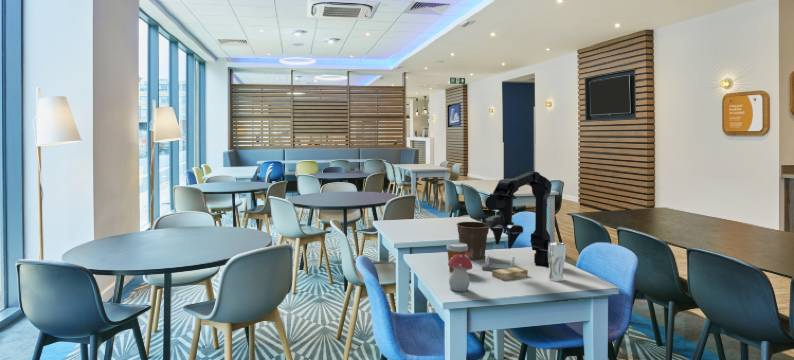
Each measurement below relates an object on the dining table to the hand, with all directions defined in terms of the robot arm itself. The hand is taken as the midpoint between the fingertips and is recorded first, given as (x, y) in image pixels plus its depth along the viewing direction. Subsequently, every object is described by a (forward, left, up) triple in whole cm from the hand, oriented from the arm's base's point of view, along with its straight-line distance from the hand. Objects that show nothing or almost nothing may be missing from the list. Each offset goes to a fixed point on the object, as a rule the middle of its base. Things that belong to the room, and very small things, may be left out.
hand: (503, 246), depth 204 cm
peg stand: (+2, -10, -13) cm, 16 cm away
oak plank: (-3, 0, -13) cm, 13 cm away
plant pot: (+15, -30, -13) cm, 36 cm away
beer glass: (-21, 0, -13) cm, 25 cm away
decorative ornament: (+16, +24, -13) cm, 31 cm away
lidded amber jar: (+20, -1, -13) cm, 23 cm away
